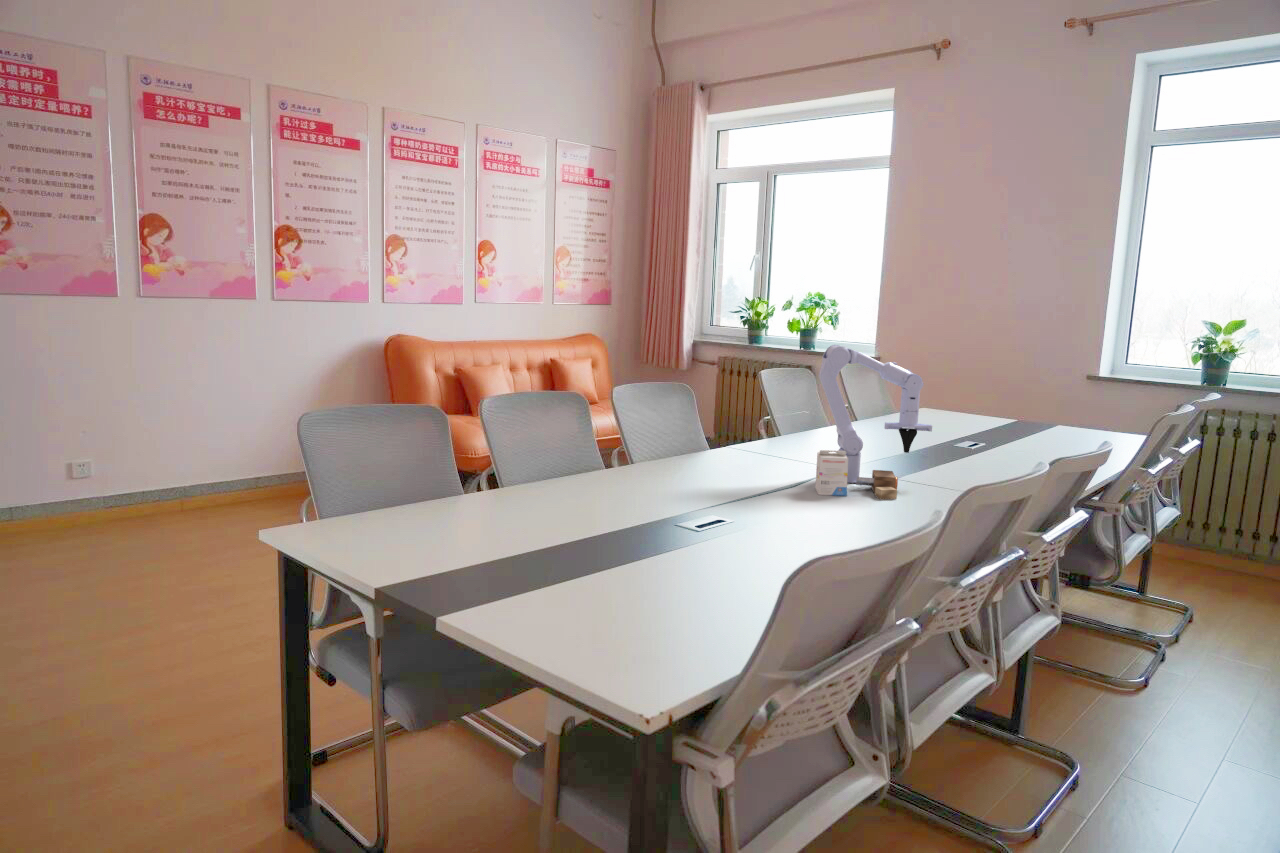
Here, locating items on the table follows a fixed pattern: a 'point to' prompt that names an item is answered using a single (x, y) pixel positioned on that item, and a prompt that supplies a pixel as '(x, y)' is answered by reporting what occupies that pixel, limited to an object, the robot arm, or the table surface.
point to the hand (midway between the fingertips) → (906, 452)
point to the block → (885, 492)
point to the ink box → (832, 473)
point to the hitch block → (883, 479)
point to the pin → (870, 481)
